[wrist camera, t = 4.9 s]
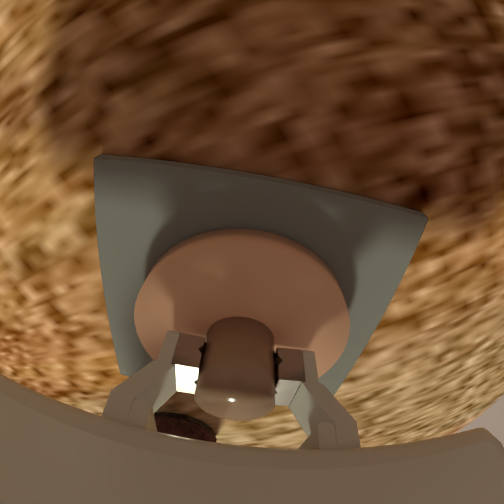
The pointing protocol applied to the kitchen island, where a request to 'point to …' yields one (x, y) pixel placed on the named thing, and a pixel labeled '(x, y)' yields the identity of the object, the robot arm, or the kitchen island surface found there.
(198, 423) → the can
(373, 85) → the kitchen island surface
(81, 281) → the kitchen island surface
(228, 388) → the lid
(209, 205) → the mat
